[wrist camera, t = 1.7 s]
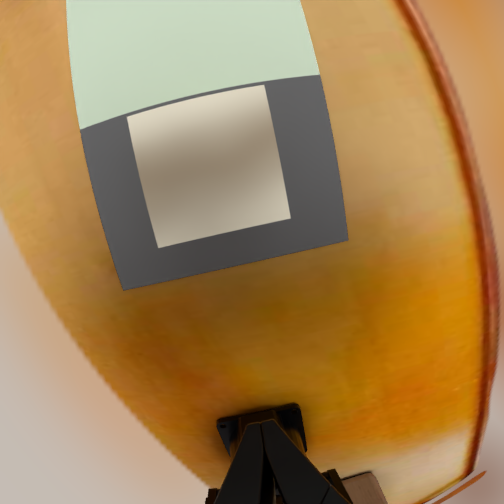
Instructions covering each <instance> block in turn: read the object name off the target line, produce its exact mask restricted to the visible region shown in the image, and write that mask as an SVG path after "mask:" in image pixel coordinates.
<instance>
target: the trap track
mask: <svg viewBox="0 0 504 504" xmlns="http://www.w3.org/2000/svg"><path fill="white" fill-rule="evenodd" d="M66 8H67V29H68V43H69V55H70V65H71V73H72V82H73V89H74V96H75V103H76V109H77V116H78V121H79V127H80V133H81V138H82V143H83V148H84V153H85V158H86V162H87V167H88V171H89V175H90V180H91V184H92V188H93V192H94V196H95V200H96V204H97V207H98V211H99V215H100V218H101V222H102V226H103V229H104V232H105V236H106V239H107V242H108V246H109V249H110V252H111V255H112V258H113V262H114V265H115V268H116V271H117V274H118V277H119V280H120V282H121V285H122V288H123V290H128V289H133V288H137V287H142V286H147V285H151V284H156V283H160V282H165V281H170V280H174V279H179V278H183V277H188V276H193V275H197V274H202V273H206V272H211V271H215V270H220V269H224V268H229V267H233V266H238V265H242V264H247V263H251V262H256V261H260V260H265V259H269V258H273V257H278V256H282V255H287V254H291V253H295V252H300V251H304V250H309V249H313V248H317V247H322V246H326V245H330V244H335V243H339V242H343V241H348V233H347V224H346V216H345V209H344V202H343V195H342V188H341V181H340V175H339V169H338V162H337V157H336V151H335V145H334V140H333V134H332V129H331V124H330V119H329V114H328V109H327V104H326V100H325V95H324V91H323V86H322V82H321V77H320V73H319V69H318V65H317V61H316V57H315V53H314V49H313V45H312V41H311V38H310V34H309V30H308V27H307V23H306V20H305V16H304V13H303V9H302V6H301V3H300V0H66ZM259 85H264V86H265V91H266V95H267V100H268V105H269V109H270V114H271V119H272V123H273V128H274V133H275V138H276V143H277V148H278V153H279V158H280V163H281V168H282V174H283V179H284V184H285V189H286V195H287V200H288V206H289V211H290V217H291V218H290V219H286V220H281V221H276V222H272V223H267V224H262V225H258V226H253V227H249V228H244V229H240V230H235V231H231V232H226V233H222V234H217V235H213V236H208V237H204V238H200V239H195V240H191V241H187V242H182V243H178V244H174V245H170V246H165V247H161V248H158V245H157V242H156V238H155V234H154V231H153V227H152V223H151V220H150V216H149V212H148V208H147V204H146V200H145V197H144V192H143V188H142V184H141V180H140V176H139V172H138V167H137V163H136V159H135V154H134V149H133V145H132V140H131V135H130V130H129V125H128V120H127V117H128V116H131V115H134V114H138V113H141V112H144V111H148V110H151V109H155V108H158V107H162V106H166V105H169V104H173V103H177V102H181V101H185V100H189V99H193V98H198V97H202V96H206V95H211V94H216V93H221V92H226V91H231V90H236V89H241V88H247V87H253V86H259Z"/></svg>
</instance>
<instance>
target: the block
mask: <svg viewBox="0 0 504 504" xmlns="http://www.w3.org/2000/svg"><path fill="white" fill-rule="evenodd" d="M342 483H343V485H344V487H345V489H346V491H347V493H348V494H349V496H350V498H351V500H352V502H353V504H388V503H387V501H386V498H385V496H384V494H383V492H382V490H381V487H380V485H379V483H378V481H377V479H376V477H375V476H374V475H373V474H372V473H366V474H363V475H360V476H356V477H353V478H350V479H346V480H343V481H342Z"/></svg>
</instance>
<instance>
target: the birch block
mask: <svg viewBox="0 0 504 504" xmlns="http://www.w3.org/2000/svg"><path fill="white" fill-rule="evenodd" d="M127 120H128V125H129V130H130V135H131V140H132V145H133V149H134V154H135V159H136V163H137V167H138V172H139V176H140V180H141V184H142V188H143V192H144V197H145V200H146V204H147V208H148V212H149V216H150V220H151V223H152V227H153V231H154V234H155V238H156V242H157V245H158V248H161V247H165V246H170V245H174V244H178V243H182V242H187V241H191V240H195V239H200V238H204V237H208V236H213V235H217V234H222V233H226V232H231V231H235V230H240V229H244V228H249V227H253V226H258V225H262V224H267V223H272V222H276V221H281V220H286V219H290V218H291V217H290V211H289V206H288V200H287V195H286V189H285V184H284V179H283V174H282V168H281V163H280V158H279V153H278V148H277V143H276V138H275V133H274V128H273V123H272V119H271V114H270V109H269V105H268V100H267V95H266V91H265V86H264V85H259V86H253V87H247V88H241V89H236V90H231V91H226V92H221V93H216V94H211V95H206V96H202V97H198V98H193V99H189V100H185V101H181V102H177V103H173V104H169V105H166V106H162V107H158V108H155V109H151V110H148V111H144V112H141V113H138V114H134V115H131V116H128V117H127Z"/></svg>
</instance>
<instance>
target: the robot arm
mask: <svg viewBox="0 0 504 504" xmlns="http://www.w3.org/2000/svg"><path fill="white" fill-rule="evenodd" d="M292 410H294V411H292ZM216 424H217V429H218V431H219V434H220V436H221V438H222V440H223V443H224V445H225V447H226V449H227V451H228V454H229V456H230V458H231V465H230V467H229V470H228V472H227V475H226V477H225V479H224V482H223V484H222V486H221V489H217V488H213V489H209V491H208V498H206V501H205V504H353V502H352V500H351V498H350V496H349V494H348V493H347V491H346V489H345V487H344V485H343V483H342V481H341V479H340V477H339V475H338V473H337V472H336V470H335V469H331V470H327V472H324V473H320V472H319V471H318V470H317V468H316V467H315V466H314V465H313V464H312V463H311V462H310V461H309V460H308V458H307V457H306V454H305V453H306V452H307V445H306V439H305V433H304V427H303V421H302V415H301V410H300V407H299V405H298V404H291V405H287V406H283V407H278V408H274V409H269V410H265V411H260V412H255V413H250V414H245V415H240V416H234V417H228V418H222V419H219V420H217V422H216ZM222 424H225V425H222Z"/></svg>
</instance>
